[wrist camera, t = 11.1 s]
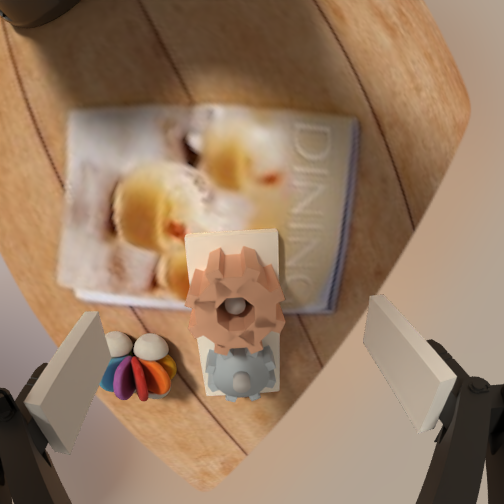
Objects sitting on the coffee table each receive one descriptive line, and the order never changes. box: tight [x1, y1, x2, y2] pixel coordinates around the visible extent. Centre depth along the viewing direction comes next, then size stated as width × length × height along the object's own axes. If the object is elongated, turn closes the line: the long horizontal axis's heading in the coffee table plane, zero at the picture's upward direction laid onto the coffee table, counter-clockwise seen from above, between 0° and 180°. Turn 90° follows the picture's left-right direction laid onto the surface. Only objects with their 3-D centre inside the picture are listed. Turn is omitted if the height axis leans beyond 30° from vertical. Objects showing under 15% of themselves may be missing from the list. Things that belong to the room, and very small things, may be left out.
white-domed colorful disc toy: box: [99, 331, 177, 401], centre depth 33 cm, size 8×10×7 cm
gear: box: [185, 246, 286, 356], centre depth 30 cm, size 8×8×6 cm
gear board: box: [185, 228, 280, 402], centre depth 33 cm, size 9×20×6 cm, turn 3°
